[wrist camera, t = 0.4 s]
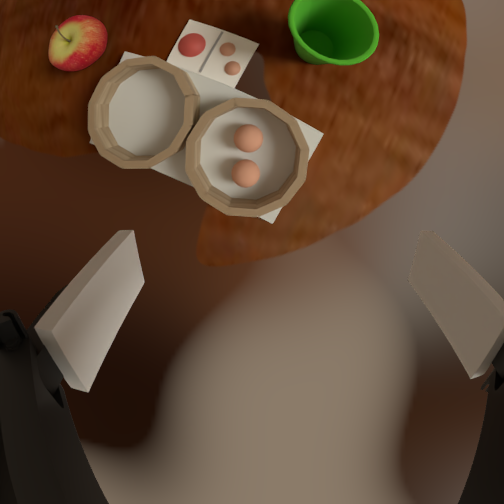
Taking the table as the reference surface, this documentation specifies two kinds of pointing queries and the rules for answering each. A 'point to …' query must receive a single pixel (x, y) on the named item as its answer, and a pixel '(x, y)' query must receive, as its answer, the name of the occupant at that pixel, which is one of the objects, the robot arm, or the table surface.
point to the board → (214, 140)
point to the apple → (77, 43)
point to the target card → (212, 53)
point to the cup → (333, 31)
